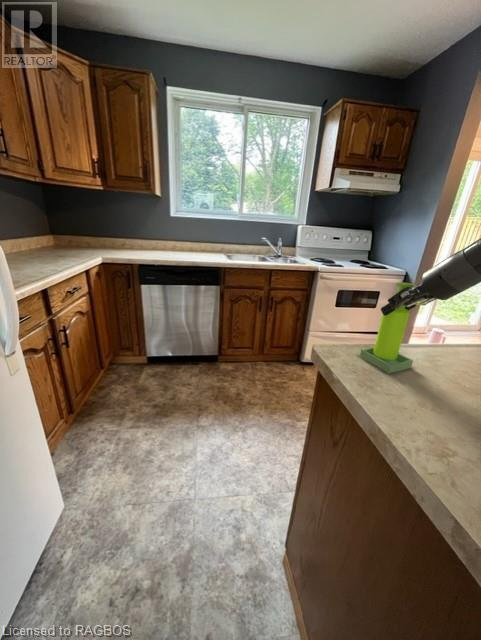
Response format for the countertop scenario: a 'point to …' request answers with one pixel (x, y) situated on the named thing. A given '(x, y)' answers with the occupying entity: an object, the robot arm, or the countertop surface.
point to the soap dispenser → (392, 331)
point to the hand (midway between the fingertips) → (391, 311)
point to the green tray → (386, 361)
